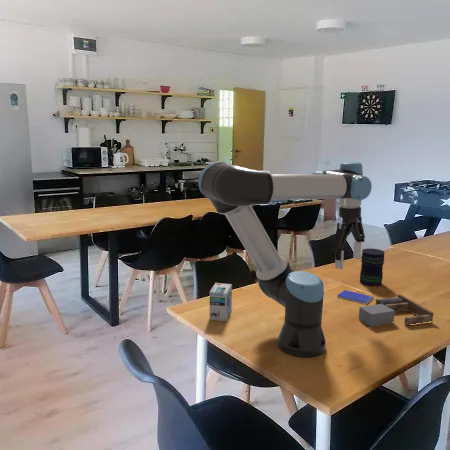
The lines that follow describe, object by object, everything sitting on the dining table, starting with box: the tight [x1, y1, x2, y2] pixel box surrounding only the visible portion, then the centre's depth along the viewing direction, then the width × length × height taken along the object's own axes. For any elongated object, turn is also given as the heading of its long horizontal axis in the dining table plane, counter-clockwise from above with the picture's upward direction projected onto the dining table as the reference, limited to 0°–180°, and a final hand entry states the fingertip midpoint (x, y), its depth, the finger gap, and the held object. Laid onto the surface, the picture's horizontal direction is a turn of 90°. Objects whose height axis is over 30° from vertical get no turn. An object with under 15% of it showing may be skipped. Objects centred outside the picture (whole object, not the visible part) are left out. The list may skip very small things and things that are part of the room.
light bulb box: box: [209, 282, 233, 322], centre depth 169 cm, size 11×7×11 cm, turn 169°
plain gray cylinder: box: [380, 298, 404, 305], centre depth 179 cm, size 8×4×4 cm, turn 105°
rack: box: [374, 293, 434, 326], centre depth 173 cm, size 11×19×4 cm, turn 15°
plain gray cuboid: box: [358, 304, 396, 328], centre depth 167 cm, size 10×7×5 cm
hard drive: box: [336, 289, 374, 305], centre depth 190 cm, size 2×8×12 cm
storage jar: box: [359, 248, 385, 287], centre depth 207 cm, size 10×10×15 cm
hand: (348, 263), depth 166 cm, fingers open, 13 cm apart
